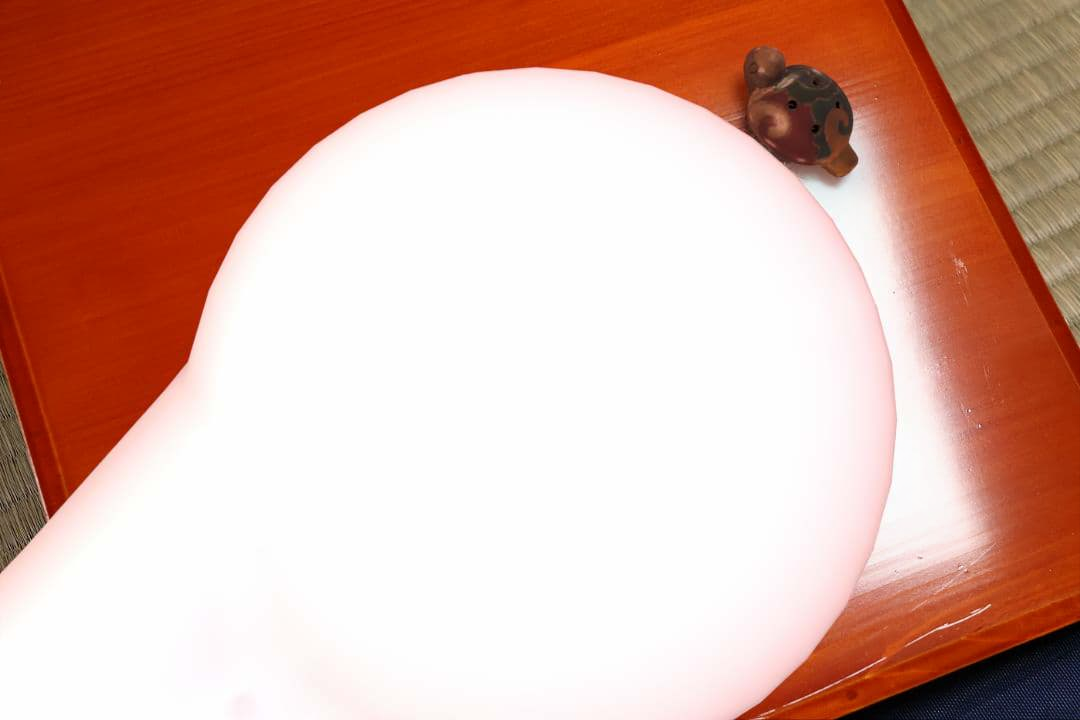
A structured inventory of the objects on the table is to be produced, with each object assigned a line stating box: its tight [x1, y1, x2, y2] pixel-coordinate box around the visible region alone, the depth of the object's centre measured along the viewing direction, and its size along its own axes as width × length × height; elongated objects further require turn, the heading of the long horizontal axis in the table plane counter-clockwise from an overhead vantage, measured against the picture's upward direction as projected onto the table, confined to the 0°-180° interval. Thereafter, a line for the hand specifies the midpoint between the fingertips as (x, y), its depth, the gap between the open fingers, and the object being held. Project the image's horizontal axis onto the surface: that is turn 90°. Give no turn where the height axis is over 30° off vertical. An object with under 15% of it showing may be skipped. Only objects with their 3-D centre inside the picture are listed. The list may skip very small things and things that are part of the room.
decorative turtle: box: [742, 45, 859, 179], centre depth 85 cm, size 10×15×8 cm, turn 49°
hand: (509, 520), depth 38 cm, fingers closed
